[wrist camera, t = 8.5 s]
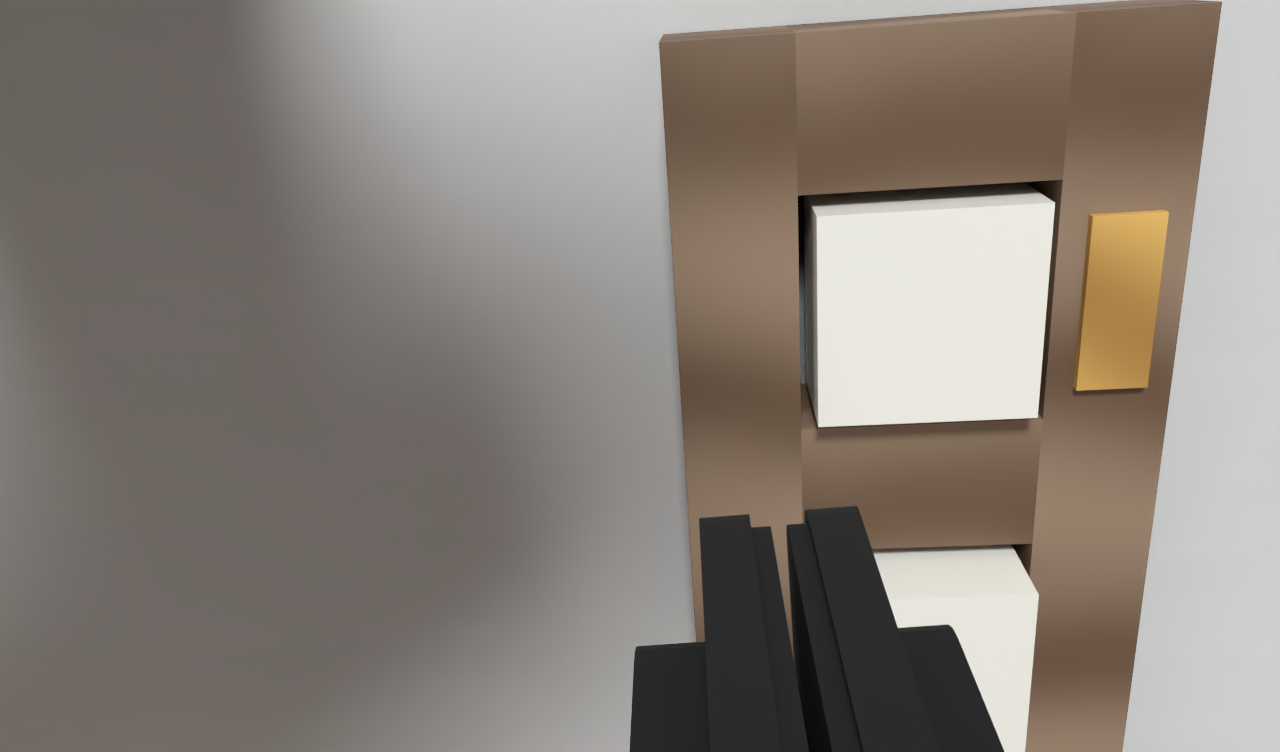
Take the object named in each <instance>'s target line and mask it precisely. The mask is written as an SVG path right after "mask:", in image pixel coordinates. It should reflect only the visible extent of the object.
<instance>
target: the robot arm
mask: <svg viewBox="0 0 1280 752" xmlns="http://www.w3.org/2000/svg"><path fill="white" fill-rule="evenodd" d="M804 521H805V523H802V524H789V525H787V526H786V535H787V553H788V569H789V586H790V602H791V619H792V635H793V652H794V660H793V654H792V648H791V642H790V636H789V631H788V625H787V619H786V613H785V607H784V601H783V595H782V589H781V583H780V578H779V572H778V566H777V560H776V554H775V548H774V542H773V536H772V530H771V526H763V527H751V523H750V516H749V514H743V515H731V516H718V517H706V518H699V530H700V550H701V570H702V591H703V611H704V631H705V642H693V643H679V644H665V645H651V646H637V647H636V650H635V659H634V677H633V697H632V717H631V737H630V752H1004V749H1003V747H1002V744H1001V742H1000V739H999V737H998V735H997V732H996V730H995V727H994V725H993V722H992V720H991V717H990V715H989V713H988V710H987V708H986V705H985V703H984V700H983V698H982V695H981V693H980V691H979V688H978V686H977V683H976V681H975V678H974V676H973V673H972V671H971V669H970V666H969V664H968V661H967V659H966V656H965V654H964V651H963V649H962V647H961V644H960V642H959V639H958V637H957V635H956V633H955V631H954V629H953V628H952V627H951V626H950V625H948V624H947V625H933V626H919V627H905V628H898V627H897V624H896V621H895V618H894V615H893V612H892V609H891V606H890V602H889V599H888V596H887V593H886V590H885V587H884V584H883V581H882V578H881V575H880V572H879V569H878V566H877V563H876V560H875V557H874V554H873V551H872V548H871V545H870V542H869V538H868V535H867V532H866V529H865V526H864V523H863V520H862V517H861V514H860V511H859V509H858V507H857V506H844V507H832V508H819V509H806V510H805V517H804Z"/></svg>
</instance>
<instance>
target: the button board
mask: <svg viewBox="0 0 1280 752" xmlns="http://www.w3.org/2000/svg"><path fill="white" fill-rule="evenodd" d="M1221 5H1222V2H1215V1H1199V0H1131V1H1117V2H1103V3H1090V4H1076V5H1062V6H1049V7H1035V8H1021V9H1008V10H994V11H980V12H966V13H953V14H939V15H925V16H912V17H898V18H884V19H871V20H857V21H843V22H829V23H816V24H802V25H788V26H775V27H761V28H747V29H733V30H720V31H706V32H692V33H679V34H665V35H663V36H662V38H661V40H660V42H659V48H660V64H661V81H662V97H663V113H664V129H665V145H666V161H667V177H668V194H669V210H670V226H671V242H672V258H673V274H674V290H675V307H676V323H677V339H678V355H679V371H680V387H681V403H682V420H683V436H684V452H685V468H686V484H687V500H688V516H689V533H690V549H691V565H692V581H693V597H694V613H695V629H696V642H705V631H704V611H703V591H702V570H701V550H700V530H699V518H706V517H718V516H731V515H743V514H749V516H750V523H751V527H763V526H771V530H772V536H773V542H774V548H775V554H776V560H777V566H778V572H779V578H780V583H781V589H782V595H783V601H784V607H785V613H786V619H787V625H788V631H789V636H790V642H791V648H792V654H793V660H794V652H793V635H792V619H791V602H790V586H789V569H788V553H787V535H786V526H787V525H789V524H802V523H805V521H804V517H805V510H806V509H819V508H832V507H844V506H857V507H858V509H859V511H860V514H861V517H862V520H863V523H864V526H865V529H866V532H867V535H868V538H869V542H870V545H871V548H872V549H885V548H915V547H945V546H975V545H1005V544H1011V545H1012V546H1013V548H1014V550H1015V552H1016V554H1017V556H1018V557H1019V559H1020V561H1021V563H1022V565H1023V567H1024V568H1025V570H1026V572H1027V574H1028V576H1029V578H1030V579H1031V581H1032V583H1033V585H1034V587H1035V589H1036V590H1037V592H1038V594H1039V600H1038V611H1037V622H1036V634H1035V645H1034V656H1033V668H1032V679H1031V691H1030V702H1029V713H1028V725H1027V736H1026V747H1025V752H1122V749H1123V742H1124V734H1125V727H1126V719H1127V712H1128V704H1129V697H1130V689H1131V682H1132V674H1133V667H1134V659H1135V652H1136V644H1137V636H1138V629H1139V621H1140V614H1141V606H1142V599H1143V591H1144V584H1145V576H1146V569H1147V561H1148V554H1149V546H1150V539H1151V531H1152V524H1153V516H1154V509H1155V501H1156V494H1157V486H1158V479H1159V471H1160V464H1161V456H1162V449H1163V441H1164V434H1165V426H1166V419H1167V411H1168V404H1169V396H1170V389H1171V381H1172V373H1173V366H1174V358H1175V351H1176V343H1177V336H1178V328H1179V321H1180V313H1181V306H1182V298H1183V291H1184V283H1185V276H1186V268H1187V261H1188V253H1189V246H1190V238H1191V231H1192V223H1193V216H1194V208H1195V201H1196V193H1197V186H1198V178H1199V171H1200V163H1201V156H1202V148H1203V141H1204V133H1205V126H1206V118H1207V110H1208V103H1209V95H1210V88H1211V80H1212V73H1213V65H1214V58H1215V50H1216V43H1217V35H1218V28H1219V20H1220V13H1221ZM1016 182H1024V183H1026V184H1027V185H1029V186H1030V187H1032V188H1034V189H1035V190H1037V191H1038V192H1040V193H1041V194H1043V195H1044V196H1046V197H1047V198H1049V199H1050V200H1052V201H1053V202H1055V211H1054V223H1053V235H1052V248H1051V260H1050V272H1049V285H1048V297H1047V309H1046V322H1045V334H1044V346H1043V359H1042V371H1041V383H1040V396H1039V408H1038V418H1022V419H999V420H976V421H952V422H929V423H905V424H882V425H858V426H835V427H818V424H817V421H816V417H815V413H814V409H813V405H812V402H811V398H810V394H809V390H808V386H807V384H800V316H799V246H798V196H800V195H816V194H833V193H850V192H866V191H883V190H899V189H916V188H933V187H949V186H966V185H983V184H999V183H1016Z"/></svg>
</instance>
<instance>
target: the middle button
mask: <svg viewBox="0 0 1280 752" xmlns="http://www.w3.org/2000/svg"><path fill="white" fill-rule="evenodd" d="M872 551H873V554H874V557H875V560H876V563H877V566H878V569H879V572H880V575H881V578H882V581H883V584H884V587H885V590H886V593H887V596H888V599H889V602H890V606H891V609H892V612H893V615H894V618H895V621H896V624H897V627H898V628H905V627H919V626H933V625H947V624H948V625H950V626H951V627H952V628H953V629H954V631H955V633H956V635H957V637H958V639H959V642H960V644H961V647H962V649H963V651H964V654H965V656H966V659H967V661H968V664H969V666H970V669H971V671H972V673H973V676H974V678H975V681H976V683H977V686H978V688H979V691H980V693H981V695H982V698H983V700H984V703H985V705H986V708H987V710H988V713H989V715H990V717H991V720H992V722H993V725H994V727H995V730H996V732H997V735H998V737H999V739H1000V742H1001V744H1002V747H1003V749H1004V752H1025V747H1026V736H1027V725H1028V713H1029V702H1030V691H1031V679H1032V668H1033V656H1034V645H1035V634H1036V622H1037V611H1038V600H1039V594H1038V592H1037V590H1036V589H1035V587H1034V585H1033V583H1032V581H1031V579H1030V578H1029V576H1028V574H1027V572H1026V570H1025V568H1024V567H1023V565H1022V563H1021V561H1020V559H1019V557H1018V556H1017V554H1016V552H1015V550H1014V548H1013V546H1012V545H1011V544H1005V545H975V546H945V547H915V548H885V549H872Z"/></svg>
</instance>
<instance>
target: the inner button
mask: <svg viewBox="0 0 1280 752" xmlns="http://www.w3.org/2000/svg"><path fill="white" fill-rule="evenodd" d="M1054 211H1055V202H1053V201H1052V200H1050V199H1049V198H1047V197H1046V196H1044V195H1043V194H1041V193H1040V192H1038V191H1037V190H1035V189H1034V188H1032V187H1030V186H1029V185H1027V184H1026V183H1024V182H1016V183H999V184H983V185H966V186H949V187H933V188H916V189H899V190H883V191H866V192H850V193H833V194H816V195H804V242H805V326H806V383H807V386H808V390H809V394H810V398H811V402H812V405H813V409H814V413H815V417H816V421H817V424H818V427H835V426H858V425H882V424H905V423H929V422H952V421H976V420H999V419H1022V418H1038V408H1039V396H1040V383H1041V371H1042V359H1043V346H1044V334H1045V322H1046V309H1047V297H1048V285H1049V272H1050V260H1051V248H1052V235H1053V223H1054Z"/></svg>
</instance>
